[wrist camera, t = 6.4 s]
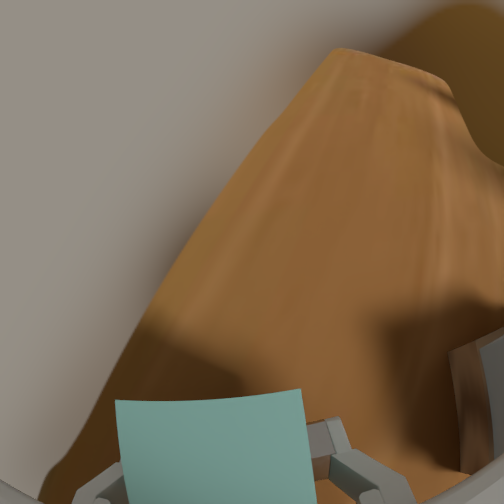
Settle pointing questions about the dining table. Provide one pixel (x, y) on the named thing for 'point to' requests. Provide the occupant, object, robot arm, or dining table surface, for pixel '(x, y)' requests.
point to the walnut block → (473, 404)
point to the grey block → (495, 389)
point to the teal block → (216, 450)
